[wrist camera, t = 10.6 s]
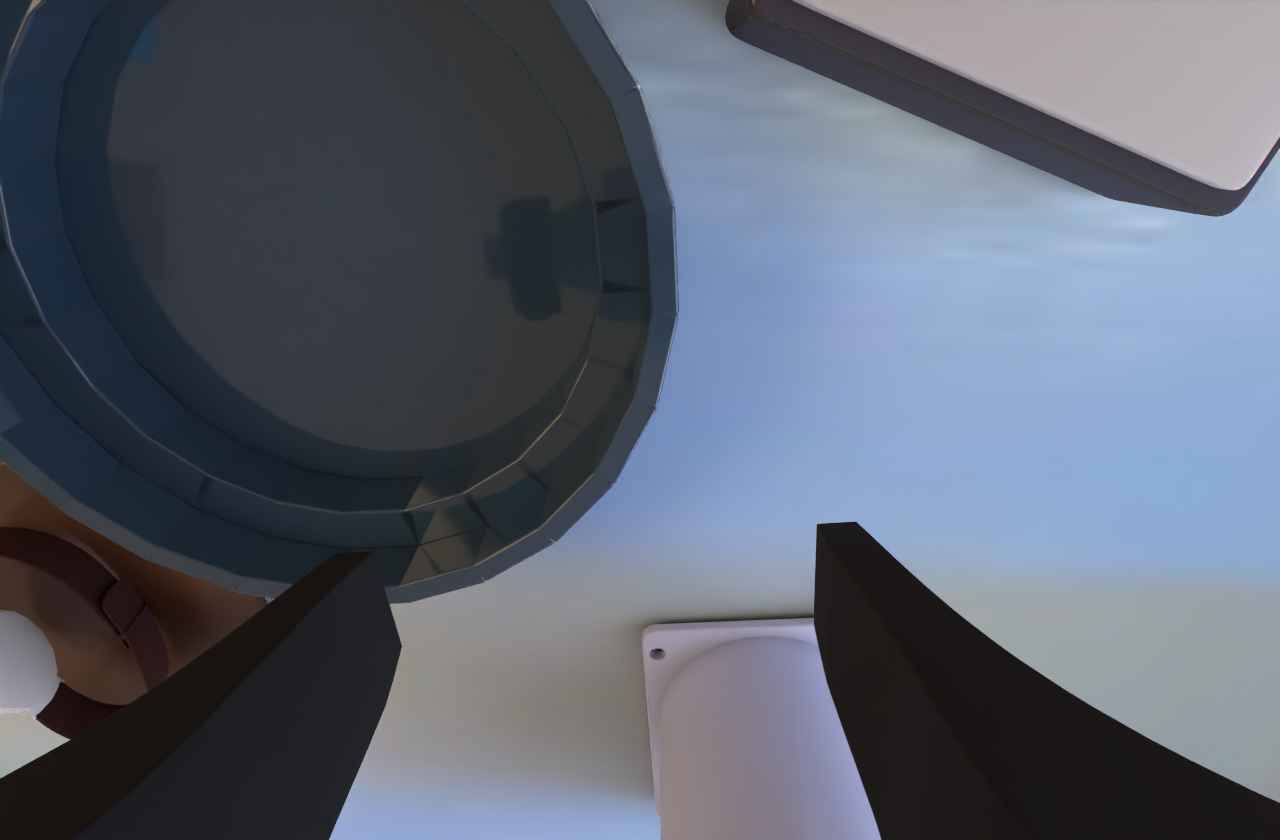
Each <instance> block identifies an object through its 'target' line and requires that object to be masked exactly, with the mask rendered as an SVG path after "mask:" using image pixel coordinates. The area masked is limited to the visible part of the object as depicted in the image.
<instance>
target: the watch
mask: <svg viewBox="0 0 1280 840" xmlns="http://www.w3.org/2000/svg"><path fill="white" fill-rule="evenodd" d="M0 557H2V558H7V559H11V560H14V561H17V562H19V563H22V564H25V565H28V566H30V567H33V568H36V569H38V570H40V571H42V572H44V573H46V574H47V575H49V576H51V577H52V578H54V579H56V580H57V581H59V582H61V583H62V584H64V585H66V586H67V587H68V588H69V589H70V590H71V591H72V592H73V593H74V594H75V595H77V596H78V597H79V598H80V599H81V600H82V601H83V602H84V603H85V604H86V605H87V606H88V607H89V608H91V609H92V610H93V611H94V612H95V613H96V614H97V615H98V616H99V617H100V618H101V619H102V621H103V622H104V623H105V624H106V625H107V626H108V627H109V629H110V630H111V631H112V632H113V634H114V635H115V637H116V639H117V640H118V641H119V643H120V644H121V646H122V647H123V649H124V650H128V649H129V647H130V648H131V650H132V652H133V653H134V655H135V657H136V660H137V662H138V664H139V667H140V669H141V672H142V674H143V677H144V680H145V684H146V688H147V692H148V691H150V690H151V689H153V688H154V687H156V686H157V685H159V684H160V683H162V682H163V681H164V680H165V679H166V677H167V675H168V668H169V658H168V653H167V648H166V645H165V643H164V640H163V637H162V634H161V632H160V630H159V628H158V626H157V624H156V622H155V620H154V618H153V616H152V614H151V613H150V611H149V610H148V609H149V608H150V607H149V605H148V603H146V604H144V602H143V600H142V599H141V598H140V596H139V595H138V594H137V593H136V591H135V590H134V589H133V588H132V586H131V585H130V584H129V583H128V582H126V581H124V580H120V581H118V580H117V579H116V578H115V577H114V576H113V575H112V574H111V573H110V572H109V571H108V570H107V569H106V568H105V567H104V566H103V565H102V564H101V563H100V562H98V561H97V560H96V559H95V558H93V557H92V556H91V555H89V554H88V553H87V552H86V551H84V550H82V549H81V548H79V547H77V546H76V545H74V544H72V543H70V542H68V541H66V540H64V539H61V538H59V537H57V536H54V535H52V534H49V533H45V532H41V531H37V530H32V529H28V528H19V527H0ZM64 682H65V681H63V680H62V679H61V678H59V677H58V676H57V665H56V660H55V654H54V649H53V648H52V646H51V644H50V643H49V641H48V640H47V638H46V636H45V635H44V633H43V631H42V630H41V629H40V628H39V627H38V626H36V625H35V624H34V623H33V622H32V621H30V620H29V619H28V618H26V617H24V616H22V615H20V614H18V613H16V612H14V611H6V610H0V714H15V713H17V712H26V711H27V712H28V714H29V715H30V716H31V718H32V719H33V720H35V719H37V720H38V721H39V722H41V723H42V724H43V725H45V726H46V727H47V728H49V729H50V730H52V731H54V732H56V733H58V734H60V735H61V736H63V737H65V738H68V739H73V738H75V737H76V736H78V735H80V734H81V733H83V732H85V731H86V730H88V729H90V728H91V727H93V726H94V725H96V724H98V723H99V722H101V721H103V720H104V719H106V718H107V717H109V716H111V715H112V714H114V713H115V712H117V711H119V710H120V709H122V708H124V707H125V706H127V705H128V704H124V705H113V704H106V703H102V702H98V701H95V700H93V699H91V698H88V697H86V696H84V695H82V694H80V693H78V692H76V691H74V690H73V689H72V688H70V687H69V686H68V685H66V684H65V683H64Z"/></svg>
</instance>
